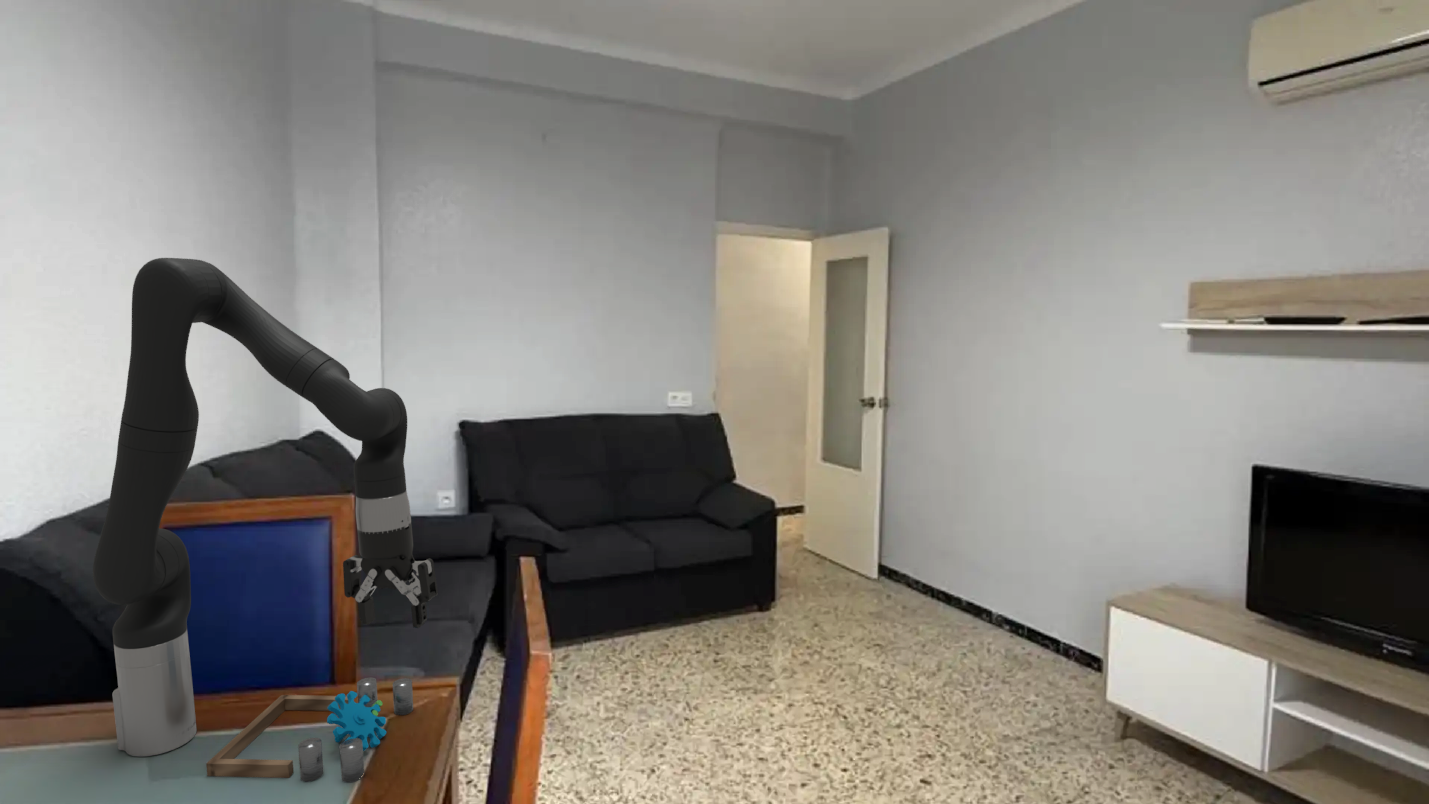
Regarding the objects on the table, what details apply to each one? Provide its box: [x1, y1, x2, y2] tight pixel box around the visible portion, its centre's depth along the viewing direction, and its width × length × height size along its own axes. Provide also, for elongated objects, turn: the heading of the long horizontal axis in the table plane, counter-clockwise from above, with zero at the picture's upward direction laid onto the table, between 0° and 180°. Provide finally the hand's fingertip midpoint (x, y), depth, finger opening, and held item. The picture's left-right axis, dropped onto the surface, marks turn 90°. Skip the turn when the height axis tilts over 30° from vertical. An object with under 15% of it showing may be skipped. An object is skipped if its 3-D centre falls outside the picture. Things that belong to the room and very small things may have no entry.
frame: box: [205, 694, 348, 779], centre depth 124 cm, size 12×19×2 cm, turn 179°
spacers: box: [297, 677, 414, 783], centre depth 124 cm, size 9×21×5 cm, turn 179°
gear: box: [326, 690, 387, 752], centre depth 124 cm, size 11×6×10 cm
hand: (394, 624), depth 121 cm, fingers open, 8 cm apart
